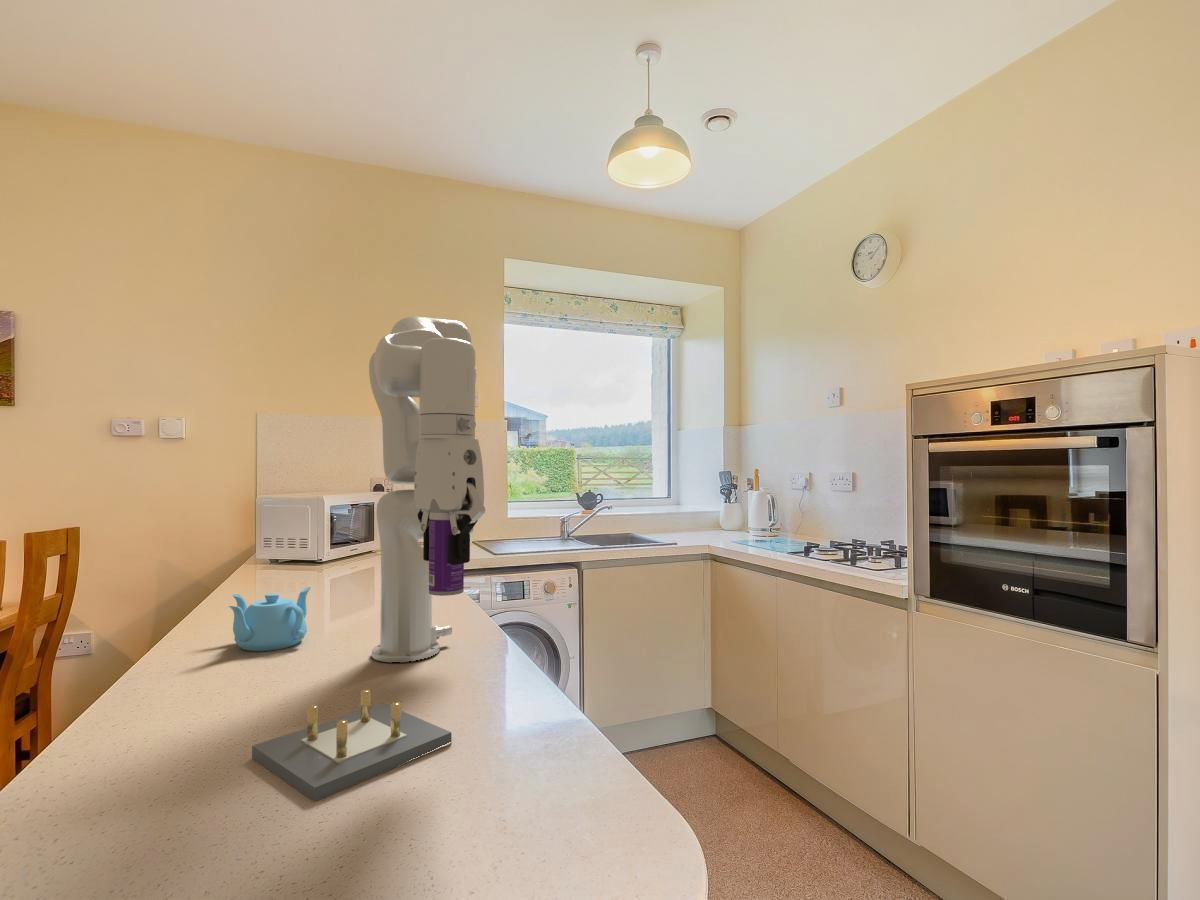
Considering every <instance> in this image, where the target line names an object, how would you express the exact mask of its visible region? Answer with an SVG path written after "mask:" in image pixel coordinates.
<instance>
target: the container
mask: <svg viewBox="0 0 1200 900" xmlns="http://www.w3.org/2000/svg"><path fill="white" fill-rule="evenodd" d="M460 510H462V507H461V509H460ZM458 517H459V522H460V520H461V519H462V517H463V516H458ZM451 534H453V533H452V529H451V523H450V516H449V512H445V511H443V510H441V509H440V508H439V506H438V504H437V502H436V500H435V499H432V501H431V505H430V514H429V594H431V595H432V596H442V597H444V596H445V597H447V596H454V595H460V594H463V593H464V588H465V587H464V583H465V582H464V581H465V579H464V578H465V577H464V575H465V574H464V571H465V563H462V564H456V565H451V564H449V562H448V549H449V535H451Z"/></svg>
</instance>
